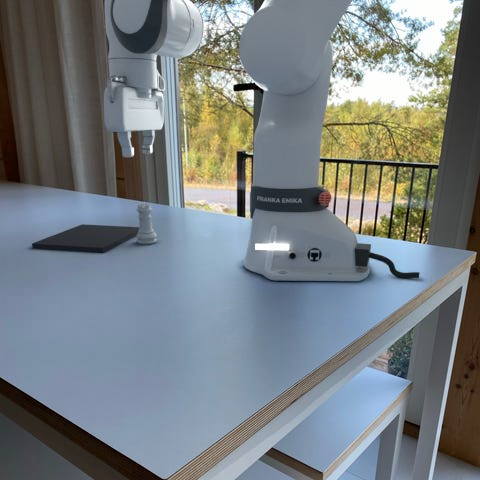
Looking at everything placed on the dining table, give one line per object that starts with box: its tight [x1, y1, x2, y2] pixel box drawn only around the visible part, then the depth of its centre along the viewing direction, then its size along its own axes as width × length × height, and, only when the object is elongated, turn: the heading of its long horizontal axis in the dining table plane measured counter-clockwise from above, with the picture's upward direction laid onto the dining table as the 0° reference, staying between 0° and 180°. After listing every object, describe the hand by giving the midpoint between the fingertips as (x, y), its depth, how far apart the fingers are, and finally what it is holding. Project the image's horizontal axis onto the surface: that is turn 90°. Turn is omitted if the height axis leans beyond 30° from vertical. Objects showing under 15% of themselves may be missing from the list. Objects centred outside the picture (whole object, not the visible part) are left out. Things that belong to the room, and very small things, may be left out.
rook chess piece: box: [135, 203, 158, 246], centre depth 101 cm, size 4×4×8 cm
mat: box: [31, 223, 139, 254], centre depth 105 cm, size 16×20×1 cm
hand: (138, 155), depth 95 cm, fingers open, 8 cm apart
